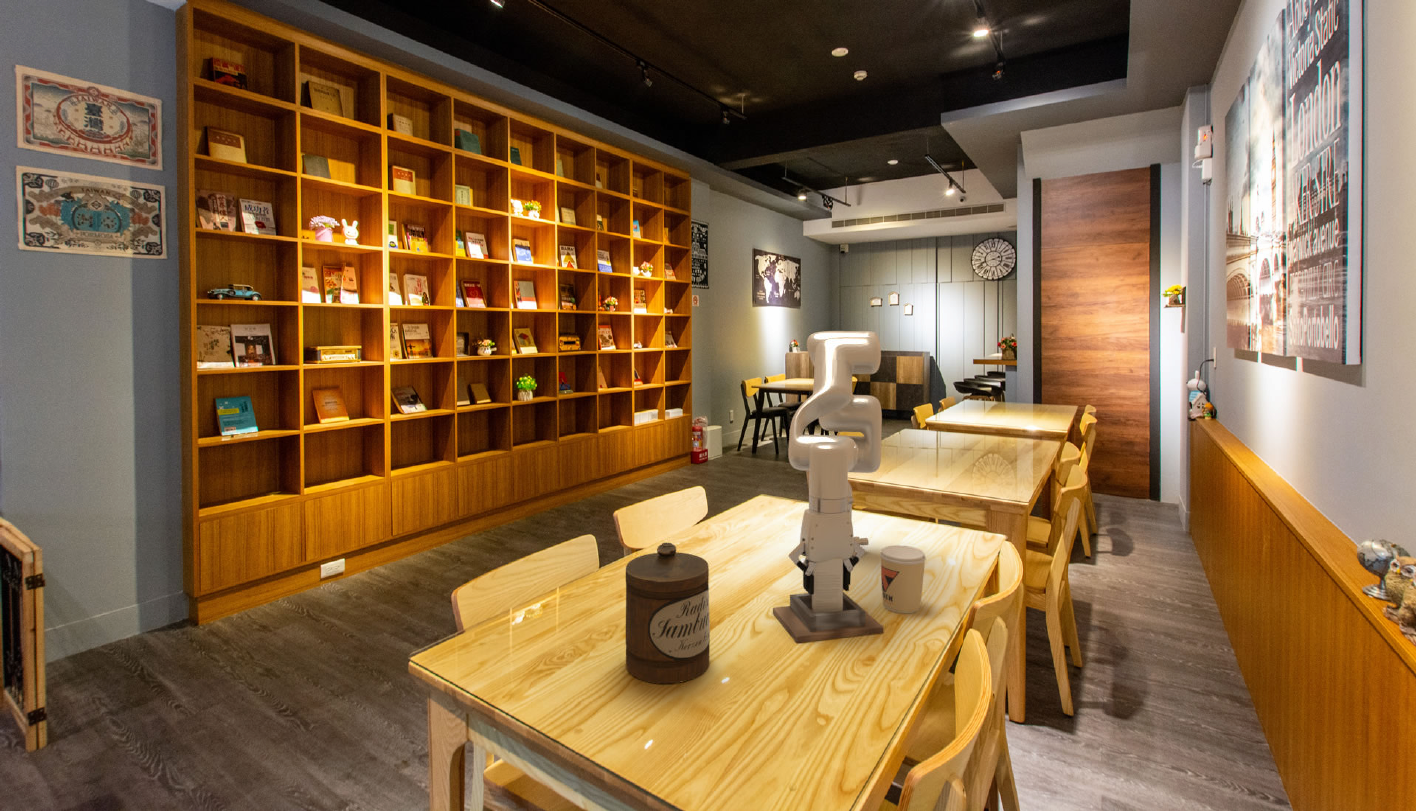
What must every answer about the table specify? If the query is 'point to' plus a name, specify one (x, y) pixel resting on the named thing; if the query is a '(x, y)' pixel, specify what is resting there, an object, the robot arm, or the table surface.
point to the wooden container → (667, 616)
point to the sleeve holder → (824, 620)
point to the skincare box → (828, 586)
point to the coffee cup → (902, 578)
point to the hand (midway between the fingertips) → (826, 589)
